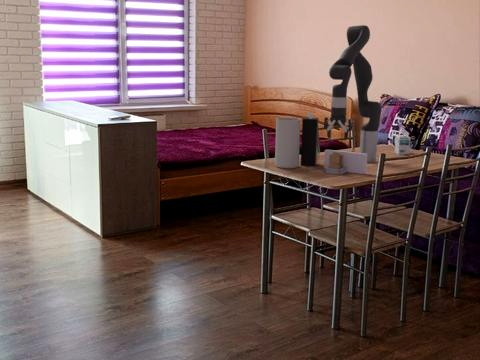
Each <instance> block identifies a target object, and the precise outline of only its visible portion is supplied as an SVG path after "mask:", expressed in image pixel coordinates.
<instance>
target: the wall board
mask: <svg viewBox="0 0 480 360" xmlns="http://www.w3.org/2000/svg"><path fill="white" fill-rule="evenodd" d="M333 152H340V154H343V165H342V168H341V169H333V168H329V156H330V155H331V154H333ZM367 164H368V162H367V154H364V153H360V152H353V151H345V150H334V149H325V150H324V165H323V174H331V175H339V176H341V175H342V174H345V173H354V174H361V175H366V174H367V169H368V168H367V166H368V165H367Z"/></svg>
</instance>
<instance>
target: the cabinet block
mask: <svg viewBox="0 0 480 360" xmlns="http://www.w3.org/2000/svg"><path fill="white" fill-rule="evenodd" d="M342 165H343V154H340V152H333V154H331V155H330V156H329V168H333V169H341V168H342Z"/></svg>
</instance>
